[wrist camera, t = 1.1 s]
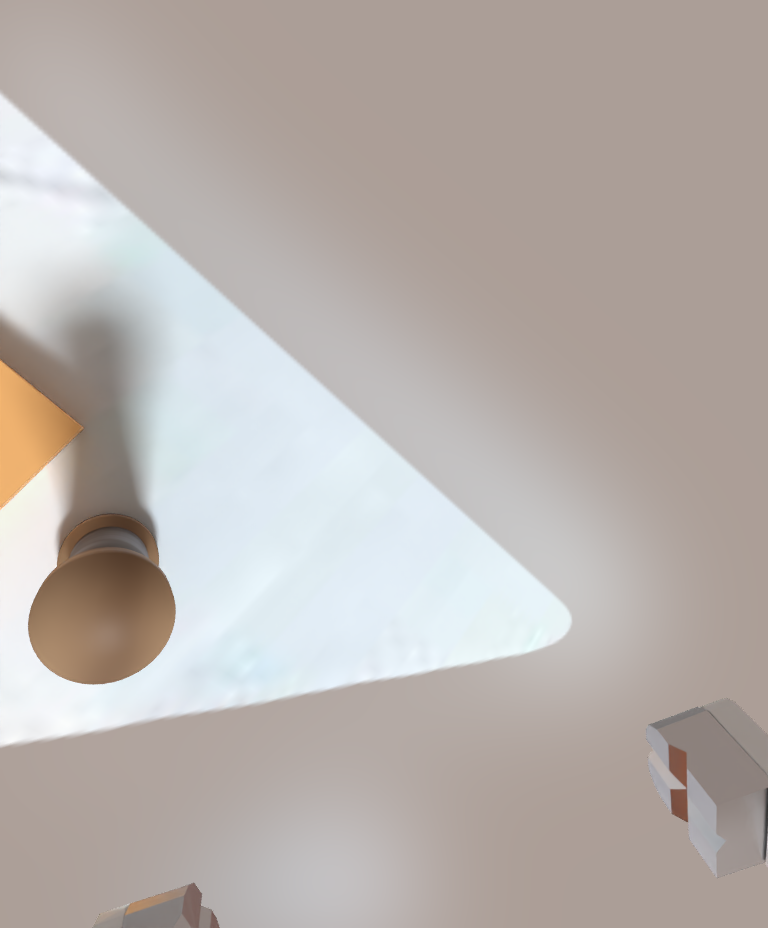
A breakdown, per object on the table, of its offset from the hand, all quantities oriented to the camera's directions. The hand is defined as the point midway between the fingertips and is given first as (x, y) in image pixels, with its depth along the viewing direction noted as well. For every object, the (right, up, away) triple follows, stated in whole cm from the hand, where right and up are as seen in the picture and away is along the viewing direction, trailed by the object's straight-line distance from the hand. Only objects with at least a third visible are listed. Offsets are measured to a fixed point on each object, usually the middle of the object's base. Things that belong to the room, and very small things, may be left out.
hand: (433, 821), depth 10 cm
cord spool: (-21, -1, +32) cm, 38 cm away
